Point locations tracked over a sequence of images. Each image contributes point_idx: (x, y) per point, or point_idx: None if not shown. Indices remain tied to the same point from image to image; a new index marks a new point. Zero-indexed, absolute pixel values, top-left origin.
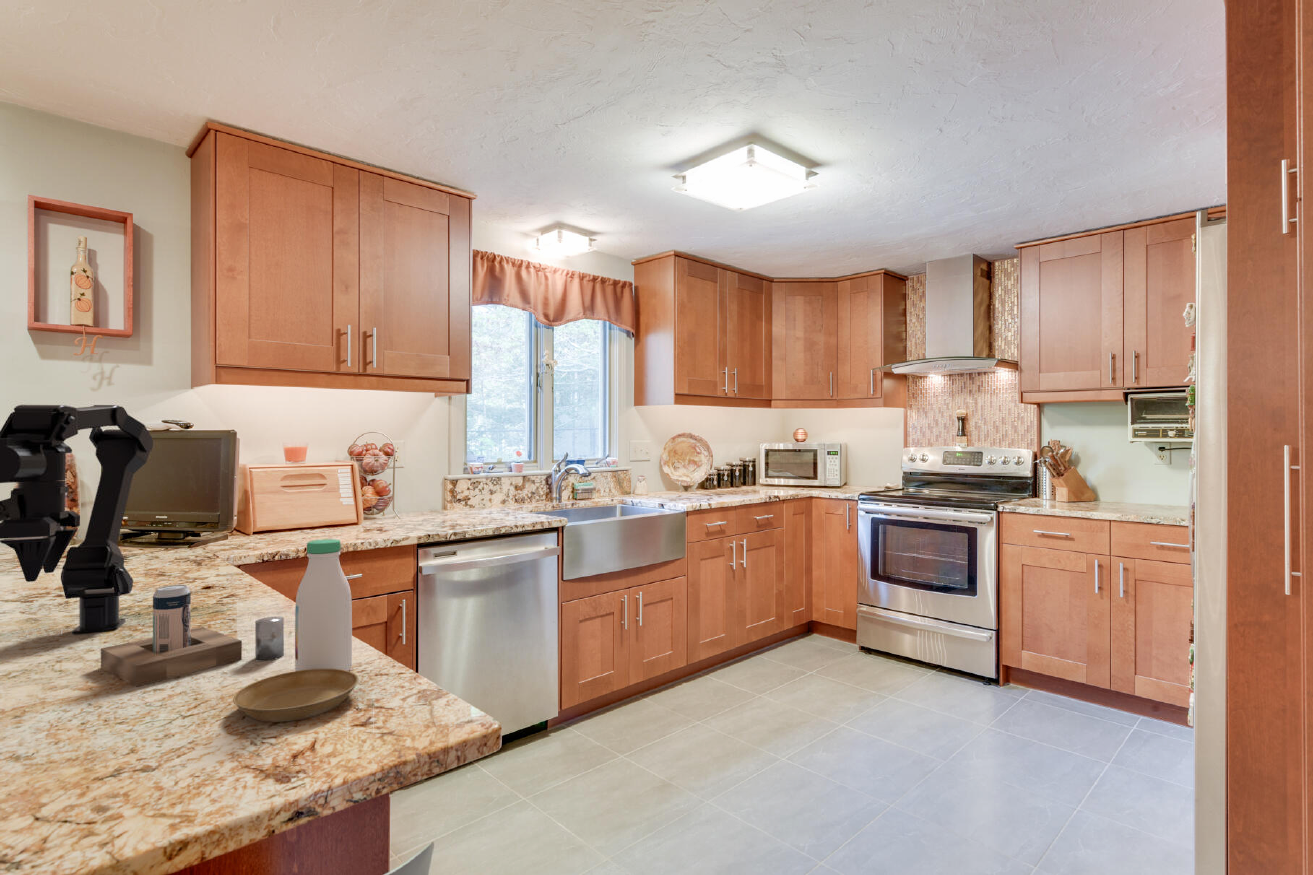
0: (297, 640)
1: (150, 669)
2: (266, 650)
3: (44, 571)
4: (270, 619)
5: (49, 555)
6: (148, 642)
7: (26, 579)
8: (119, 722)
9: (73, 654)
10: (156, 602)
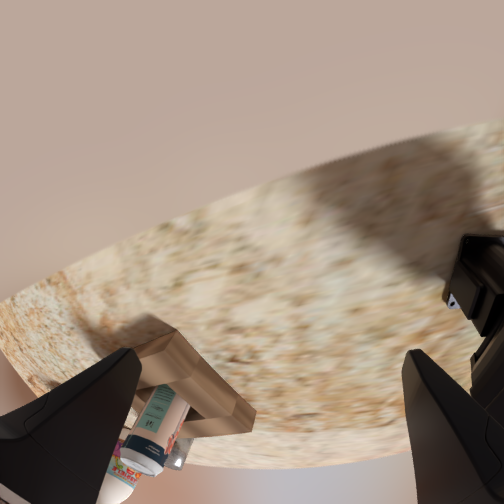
0: None
1: None
2: None
3: (407, 354)
4: (170, 465)
5: (432, 437)
6: (183, 391)
7: (118, 352)
8: (50, 344)
9: (282, 279)
10: (124, 442)
